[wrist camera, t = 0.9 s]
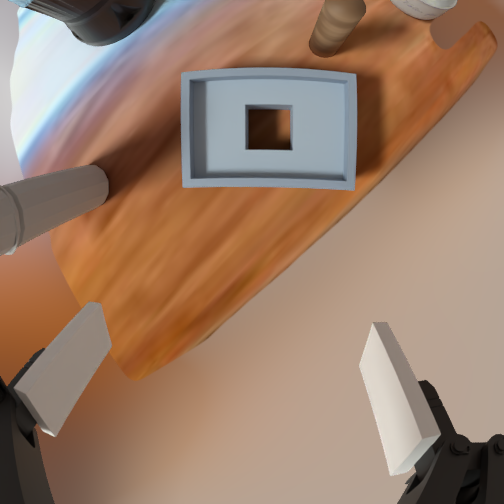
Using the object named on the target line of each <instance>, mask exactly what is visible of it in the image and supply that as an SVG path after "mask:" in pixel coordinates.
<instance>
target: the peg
mask: <svg viewBox="0 0 504 504" xmlns="http://www.w3.org/2000/svg"><path fill="white" fill-rule="evenodd" d="M365 13H366V5H365V3H364V1H363V0H325V2H324V4H323V7H322V9H321V12H320V15H319V17H318V20H317V22H316V25H315V28H314V30H313V33H312V35H311V38H310V41H309V47H310V49H311V51H312V52H313V53H314V54H315V55H317V56H319V57H323V58H328V57H331V56H333V55H334V54H335V53H336V52H337V50H338V49H339V48H340V46H341V45H342V44H343V42H344V41H345V40H346V38H347V37H348V36H349V34H350V33H351V32H352V30H353V29H354V28H355V26H356V25H357V24H358V22H359V21H360V20H361V18H362V17H363V16H364V15H365Z"/></svg>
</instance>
